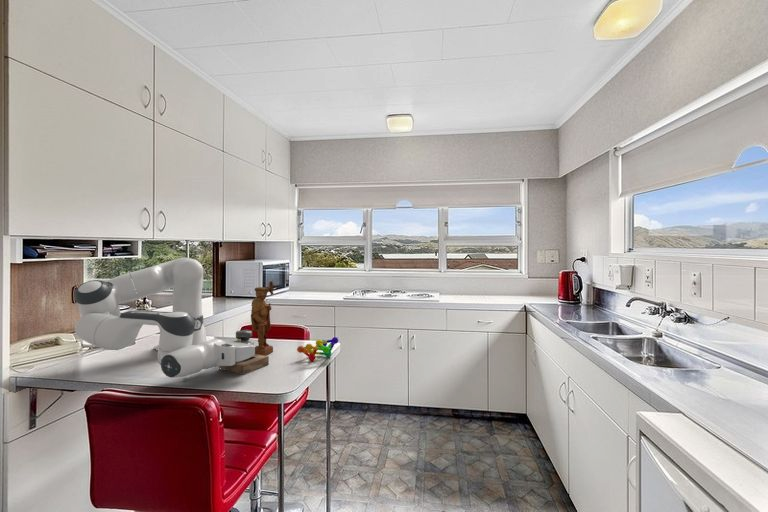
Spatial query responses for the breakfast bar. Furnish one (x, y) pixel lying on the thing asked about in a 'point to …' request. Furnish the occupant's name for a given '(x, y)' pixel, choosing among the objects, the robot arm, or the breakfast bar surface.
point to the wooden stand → (248, 364)
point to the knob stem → (244, 338)
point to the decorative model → (318, 348)
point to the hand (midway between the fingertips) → (246, 343)
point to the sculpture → (262, 319)
